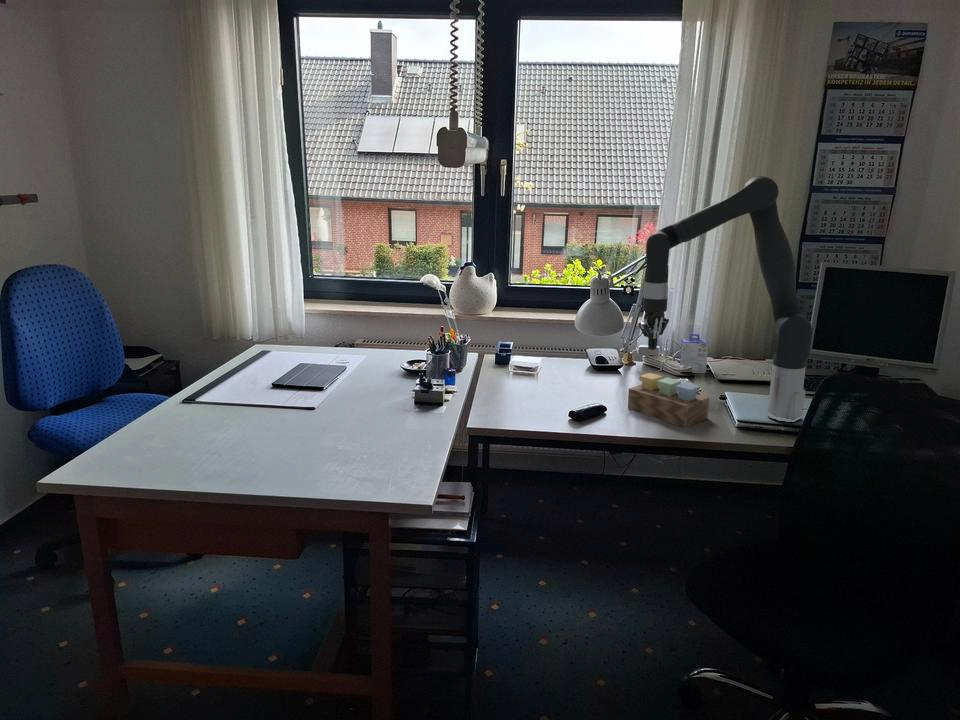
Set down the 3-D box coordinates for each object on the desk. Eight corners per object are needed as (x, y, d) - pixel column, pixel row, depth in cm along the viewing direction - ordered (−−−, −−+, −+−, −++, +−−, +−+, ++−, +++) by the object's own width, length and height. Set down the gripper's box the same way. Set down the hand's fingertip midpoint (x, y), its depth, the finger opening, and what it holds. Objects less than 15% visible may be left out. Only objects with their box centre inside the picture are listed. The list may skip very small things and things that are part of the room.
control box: (707, 418, 208) (709, 397, 206) (684, 427, 201) (686, 405, 199) (650, 400, 225) (651, 381, 223) (627, 408, 218) (628, 388, 216)
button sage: (679, 402, 212) (680, 381, 210) (669, 405, 208) (670, 384, 207) (665, 398, 215) (667, 377, 214) (655, 401, 212) (657, 380, 210)
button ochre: (661, 396, 217) (662, 376, 215) (651, 400, 214) (652, 379, 212) (648, 392, 221) (649, 372, 219) (638, 396, 218) (639, 375, 216)
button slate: (698, 407, 206) (700, 386, 204) (688, 411, 203) (690, 389, 201) (684, 403, 210) (685, 382, 208) (674, 407, 207) (675, 385, 205)
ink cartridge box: (704, 369, 259) (707, 333, 255) (706, 373, 253) (709, 337, 249) (678, 368, 261) (681, 333, 257) (679, 372, 255) (682, 336, 251)
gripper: (652, 300, 201) (648, 355, 206) (678, 295, 209) (674, 347, 214) (632, 297, 207) (629, 350, 212) (658, 292, 215) (655, 343, 220)
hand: (652, 349), depth 213 cm, fingers closed
